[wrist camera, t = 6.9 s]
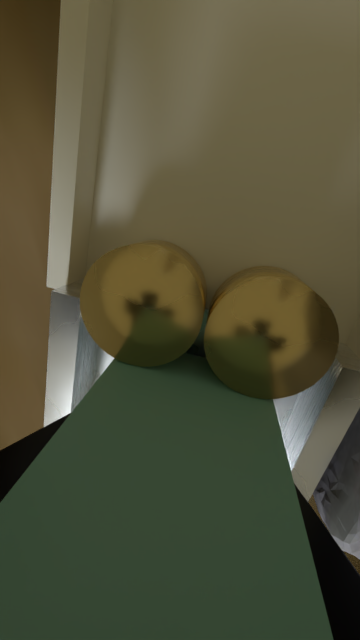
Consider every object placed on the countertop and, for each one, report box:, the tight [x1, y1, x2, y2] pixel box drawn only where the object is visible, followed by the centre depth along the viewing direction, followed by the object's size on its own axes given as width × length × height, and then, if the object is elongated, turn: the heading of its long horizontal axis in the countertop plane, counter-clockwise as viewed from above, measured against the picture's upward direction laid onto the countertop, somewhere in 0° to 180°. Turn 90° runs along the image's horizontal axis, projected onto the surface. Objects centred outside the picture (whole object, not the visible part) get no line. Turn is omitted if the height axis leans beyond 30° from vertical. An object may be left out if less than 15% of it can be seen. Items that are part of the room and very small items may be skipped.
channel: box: [44, 277, 360, 502], centre depth 10 cm, size 12×8×2 cm
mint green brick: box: [0, 353, 333, 640], centre depth 6 cm, size 4×4×7 cm
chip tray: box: [47, 0, 360, 359], centre depth 6 cm, size 12×9×1 cm
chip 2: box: [204, 266, 339, 399], centre depth 8 cm, size 3×3×2 cm
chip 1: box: [80, 240, 207, 367], centre depth 8 cm, size 3×3×2 cm
